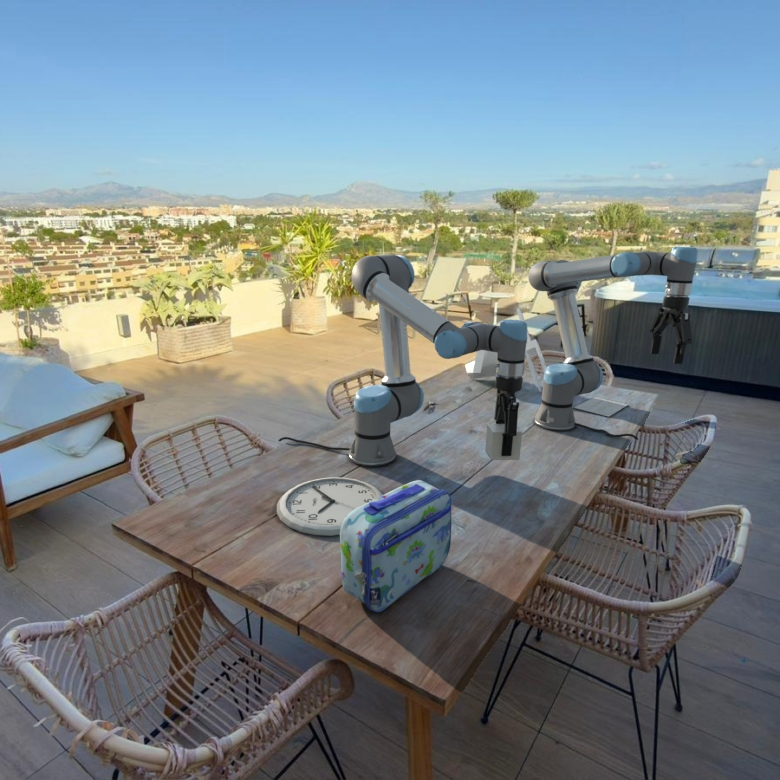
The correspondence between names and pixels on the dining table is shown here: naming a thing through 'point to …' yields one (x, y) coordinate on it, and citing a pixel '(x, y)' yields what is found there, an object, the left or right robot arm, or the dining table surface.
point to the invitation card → (601, 406)
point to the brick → (495, 443)
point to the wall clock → (323, 504)
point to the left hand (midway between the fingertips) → (502, 450)
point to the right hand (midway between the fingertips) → (665, 358)
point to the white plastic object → (488, 359)
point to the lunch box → (394, 543)
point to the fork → (430, 403)
